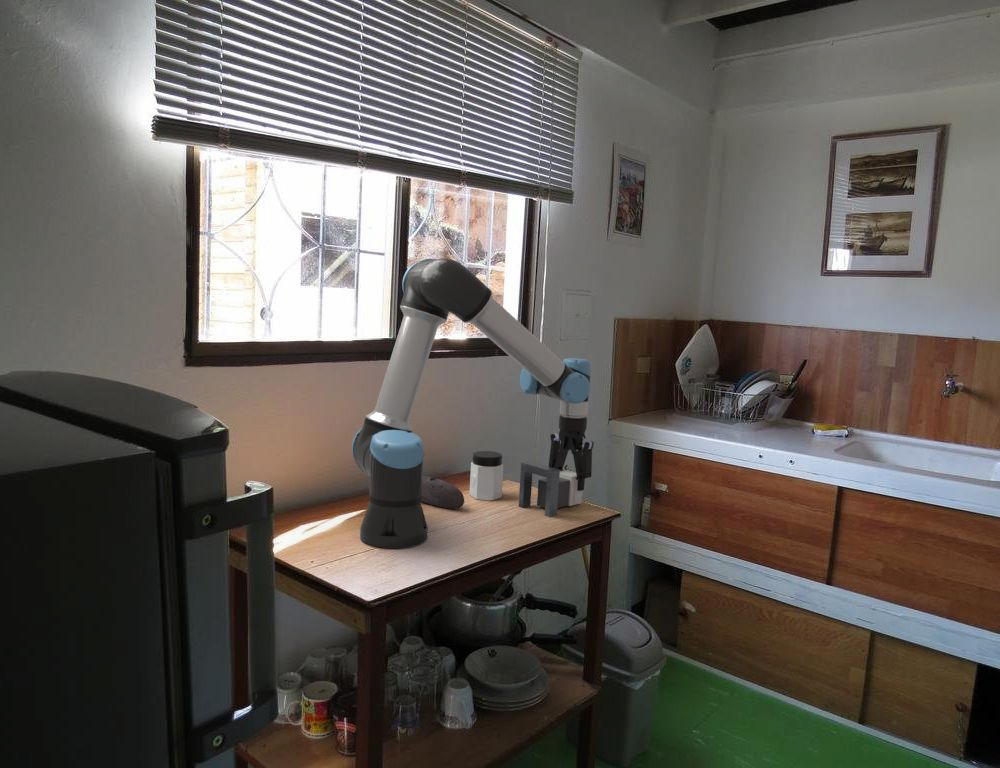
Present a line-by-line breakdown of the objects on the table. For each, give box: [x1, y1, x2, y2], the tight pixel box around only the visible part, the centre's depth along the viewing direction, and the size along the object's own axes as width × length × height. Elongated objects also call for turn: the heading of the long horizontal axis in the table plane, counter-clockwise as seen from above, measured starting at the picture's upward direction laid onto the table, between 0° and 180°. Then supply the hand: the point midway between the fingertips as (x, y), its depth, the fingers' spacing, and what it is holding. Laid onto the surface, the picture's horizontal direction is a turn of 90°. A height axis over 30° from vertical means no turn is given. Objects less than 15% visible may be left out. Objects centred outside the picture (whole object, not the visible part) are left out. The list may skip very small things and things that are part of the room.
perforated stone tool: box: [421, 475, 465, 510], centre depth 185 cm, size 15×5×7 cm, turn 55°
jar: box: [469, 450, 504, 501], centre depth 196 cm, size 9×8×12 cm
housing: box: [518, 460, 560, 518], centre depth 185 cm, size 3×11×12 cm, turn 44°
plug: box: [536, 469, 583, 509], centre depth 192 cm, size 14×6×8 cm, turn 134°
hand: (567, 498), depth 194 cm, fingers closed on plug, 6 cm apart
